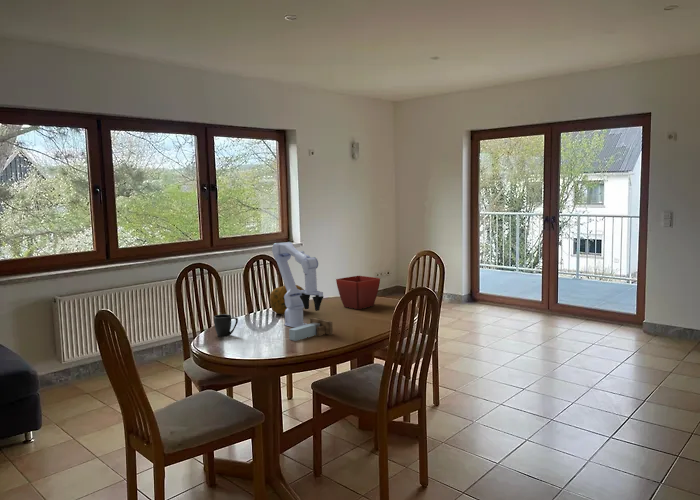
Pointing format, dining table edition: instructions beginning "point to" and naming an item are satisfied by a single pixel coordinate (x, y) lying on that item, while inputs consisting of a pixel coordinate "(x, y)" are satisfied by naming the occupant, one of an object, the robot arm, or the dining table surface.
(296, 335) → the rail
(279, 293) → the decorative pumpkin
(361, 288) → the plant pot
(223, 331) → the mug
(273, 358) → the dining table surface
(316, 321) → the plank with two pegs
